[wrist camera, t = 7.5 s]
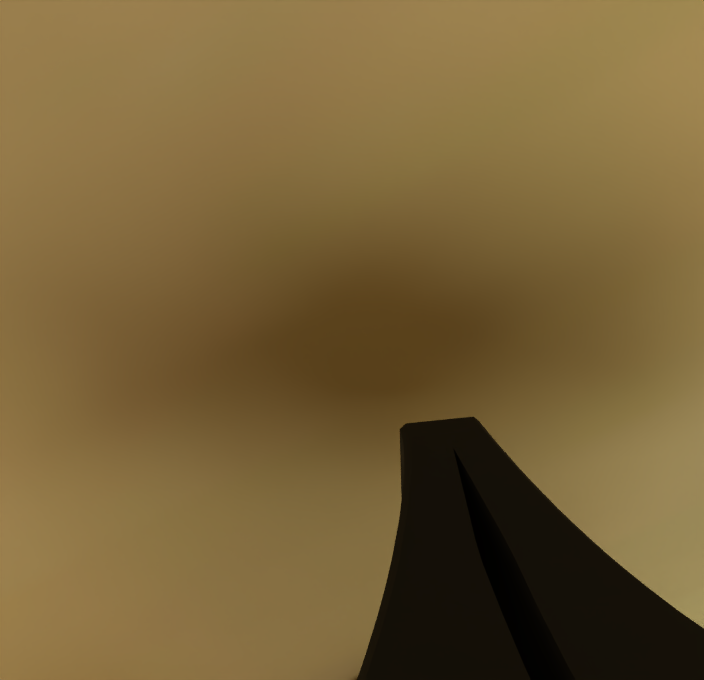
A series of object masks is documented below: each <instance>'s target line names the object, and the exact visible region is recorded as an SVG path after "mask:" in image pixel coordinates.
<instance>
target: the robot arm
mask: <svg viewBox="0 0 704 680" xmlns="http://www.w3.org/2000/svg"><path fill="white" fill-rule="evenodd" d="M400 455H401V492H402V502H401V511H400V518H399V524H398V530H397V535H396V540H395V546H394V551H393V556H392V561H391V566H390V570H389V574H388V579H387V583H386V587H385V591H384V594H383V598H382V602H381V605H380V609H379V613H378V616H377V620H376V623H375V626H374V629H373V633H372V636H371V639H370V642H369V645H368V649H367V652H366V655H365V658H364V661H363V664H362V667H361V670H360V673H359V676H358V678H357V680H704V628H702V627H701V626H699V625H698V624H696V623H695V622H693V621H692V620H691V619H689V618H688V617H686V616H685V615H683V614H682V613H680V612H679V611H678V610H676V609H675V608H674V607H673V606H671V605H670V604H669V603H667V602H666V601H665V600H663V599H662V598H661V597H659V596H658V595H657V594H655V593H654V592H653V591H651V590H650V589H649V588H648V587H646V586H645V585H644V584H643V583H641V582H640V581H639V580H638V579H636V578H635V577H634V576H633V575H632V574H630V573H629V572H628V571H627V570H625V569H624V568H623V567H622V566H620V565H619V564H618V563H617V562H616V561H615V560H613V559H612V558H611V557H610V556H609V555H608V554H606V553H605V552H604V551H603V550H602V549H601V548H600V547H598V546H597V545H596V544H595V543H594V542H593V541H592V540H591V539H590V538H589V537H587V536H586V535H585V534H584V533H583V532H582V531H581V530H580V529H579V528H578V527H577V526H576V525H574V524H573V523H572V522H571V521H570V520H569V519H568V518H567V517H566V516H565V515H564V514H563V513H562V512H561V511H560V510H559V509H558V508H557V507H556V506H555V505H554V504H553V503H552V502H551V501H550V500H549V499H548V498H547V497H546V496H545V495H544V494H543V493H542V492H541V491H540V490H539V489H538V488H537V487H536V486H535V485H534V484H533V483H532V481H531V480H530V479H529V478H528V477H527V476H526V475H525V474H524V473H523V472H522V471H521V470H520V469H519V467H518V466H517V465H516V464H515V463H514V462H513V461H512V460H511V458H510V457H509V456H508V455H507V454H506V453H505V452H504V451H503V449H502V448H501V447H500V446H499V445H498V444H497V442H496V441H495V440H494V439H493V438H492V436H491V435H490V434H489V433H488V432H487V430H486V429H485V428H484V427H483V426H482V424H481V423H480V422H479V421H478V420H477V419H476V418H474V417H466V418H456V419H447V420H437V421H427V422H417V423H407V424H405V425H404V426H403V427H402V428H401V429H400Z"/></svg>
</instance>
